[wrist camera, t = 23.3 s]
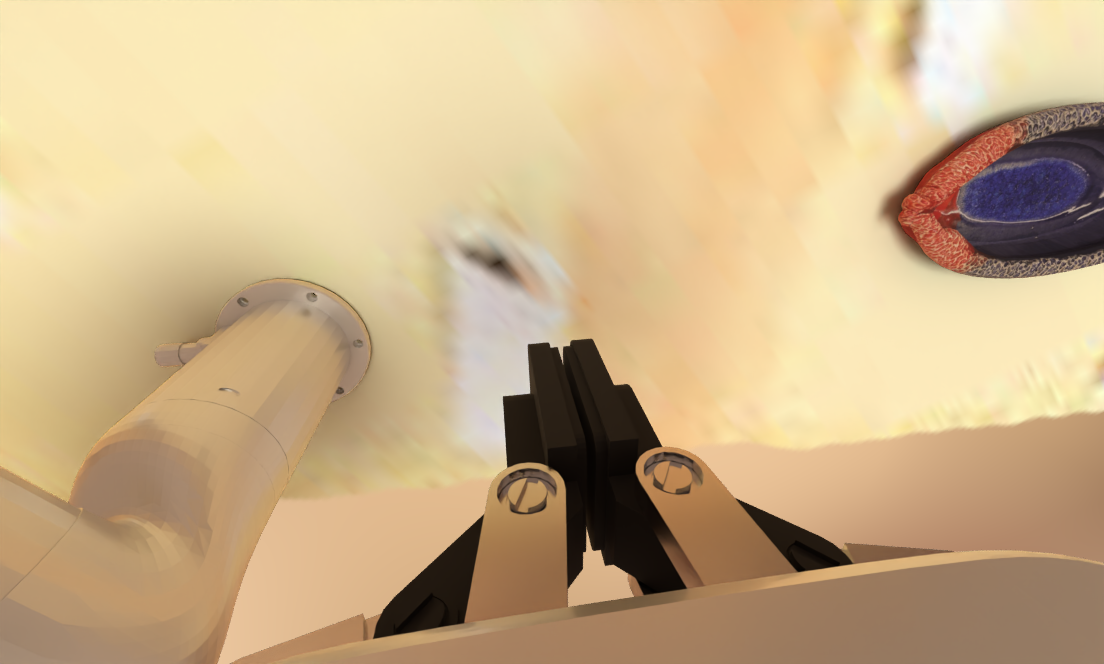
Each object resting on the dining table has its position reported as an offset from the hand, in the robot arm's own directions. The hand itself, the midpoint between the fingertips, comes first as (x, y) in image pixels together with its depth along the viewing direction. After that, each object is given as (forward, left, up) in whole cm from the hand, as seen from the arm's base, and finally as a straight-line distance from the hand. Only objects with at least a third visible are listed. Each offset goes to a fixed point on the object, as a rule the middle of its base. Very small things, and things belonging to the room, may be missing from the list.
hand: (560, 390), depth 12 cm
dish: (+50, -2, -30) cm, 58 cm away
